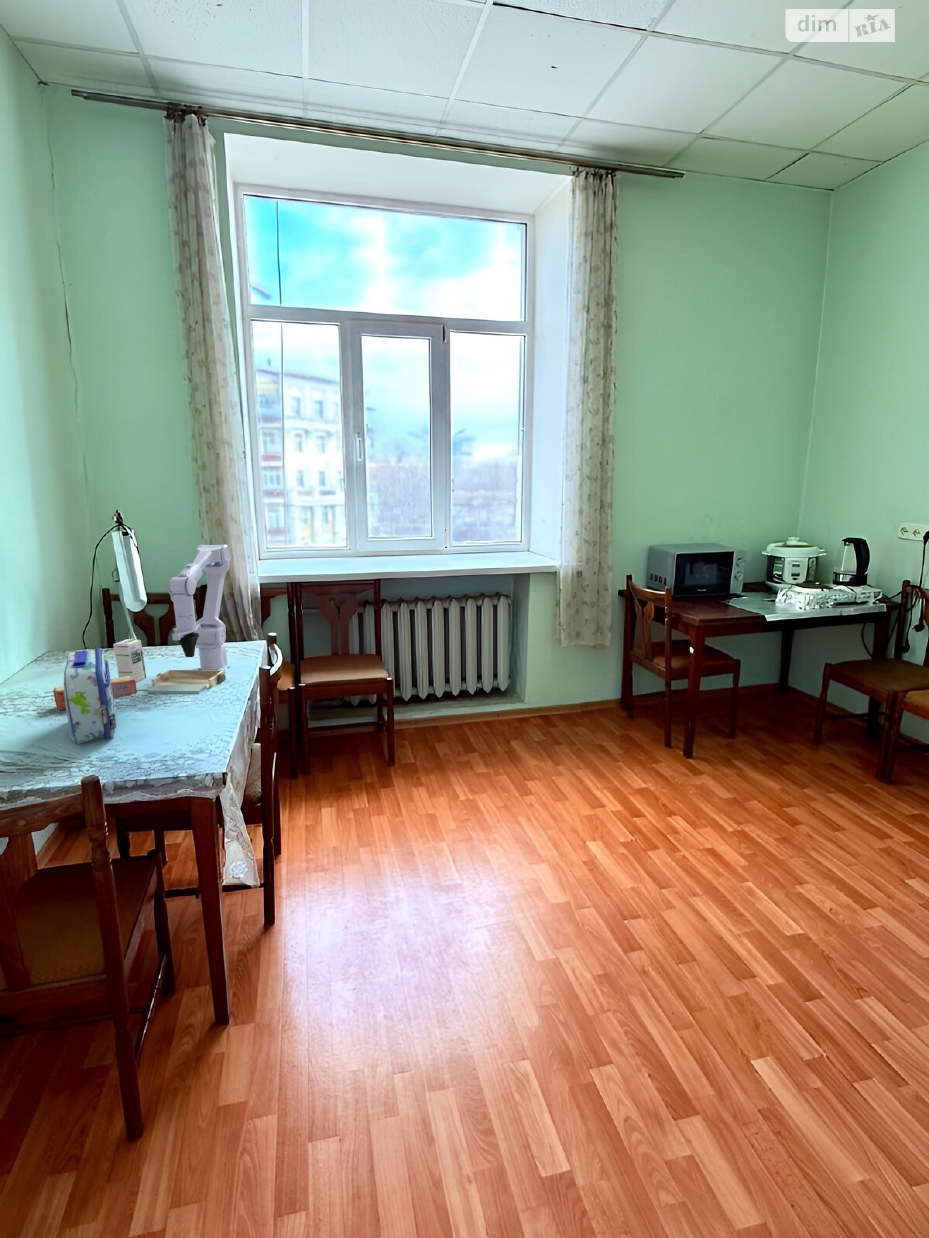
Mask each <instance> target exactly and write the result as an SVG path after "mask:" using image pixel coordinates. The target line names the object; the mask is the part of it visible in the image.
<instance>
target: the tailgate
mask: <svg viewBox="0 0 929 1238" xmlns="http://www.w3.org/2000/svg"><path fill="white" fill-rule="evenodd" d="M206 689H208V688H207V686H206V685H155V686H154V687H152V686H151V688H149V689H147V693H148V694H186V695H187V694H190V695H191V694H193V695H195V694H197V695H198V694H201V693H203V691H205V690H206Z"/></svg>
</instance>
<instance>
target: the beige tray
mask: <svg viewBox="0 0 929 1238" xmlns="http://www.w3.org/2000/svg"><path fill="white" fill-rule="evenodd" d="M226 680H227V678H226V670H225V669H217V670H201V669H166V671H164V672H163V673H161V672H160V673H157V675H156V676H155V677H154V678H152V679H151V685H152V686H151V688H152V687H154V686H155V685H206V686H207V688H206V689H212V688H214V687H215V686H216V685H219V684H222V683H223V682H225V681H226Z"/></svg>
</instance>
